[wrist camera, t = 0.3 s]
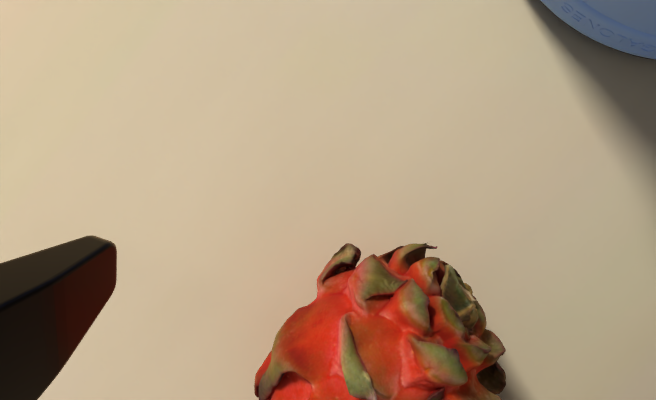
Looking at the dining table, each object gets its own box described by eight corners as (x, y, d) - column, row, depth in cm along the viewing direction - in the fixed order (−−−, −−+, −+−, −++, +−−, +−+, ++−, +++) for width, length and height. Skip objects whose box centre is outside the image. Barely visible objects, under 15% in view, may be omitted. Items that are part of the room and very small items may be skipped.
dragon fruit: (444, 225, 25) (359, 455, 26) (276, 182, 21) (188, 457, 22) (606, 308, 17) (473, 620, 19) (394, 266, 13) (249, 669, 15)
